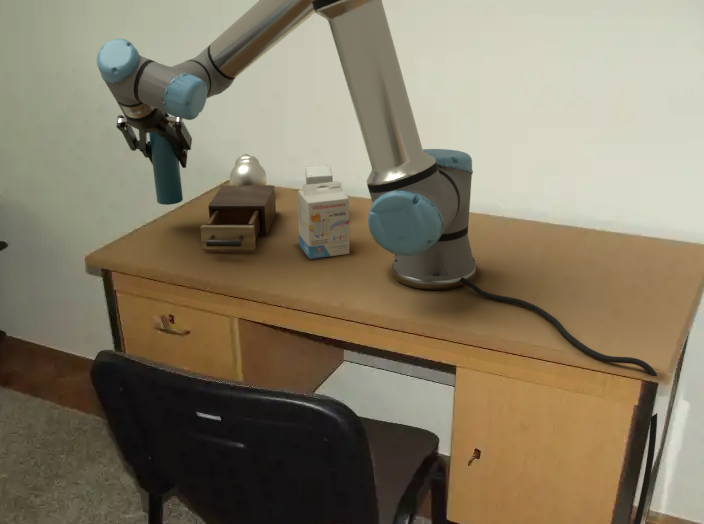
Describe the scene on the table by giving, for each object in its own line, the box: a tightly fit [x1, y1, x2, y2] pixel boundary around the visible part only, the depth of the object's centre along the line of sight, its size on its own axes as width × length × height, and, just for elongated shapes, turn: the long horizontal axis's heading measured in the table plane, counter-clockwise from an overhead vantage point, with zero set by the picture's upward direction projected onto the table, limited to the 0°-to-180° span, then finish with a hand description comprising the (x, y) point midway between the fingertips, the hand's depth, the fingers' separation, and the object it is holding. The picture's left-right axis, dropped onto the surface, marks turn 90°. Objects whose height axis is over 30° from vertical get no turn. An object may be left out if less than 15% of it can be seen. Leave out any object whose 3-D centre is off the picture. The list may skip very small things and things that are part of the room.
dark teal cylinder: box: [148, 123, 184, 206], centre depth 186 cm, size 6×6×17 cm
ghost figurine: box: [229, 153, 268, 186], centre depth 208 cm, size 9×10×10 cm
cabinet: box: [207, 185, 277, 237], centre depth 192 cm, size 14×12×7 cm
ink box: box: [297, 180, 350, 260], centre depth 175 cm, size 9×8×13 cm
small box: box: [305, 164, 334, 188], centre depth 192 cm, size 8×6×10 cm
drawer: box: [200, 209, 262, 251], centre depth 182 cm, size 17×11×5 cm, turn 170°
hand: (170, 162), depth 190 cm, fingers closed on dark teal cylinder, 6 cm apart
